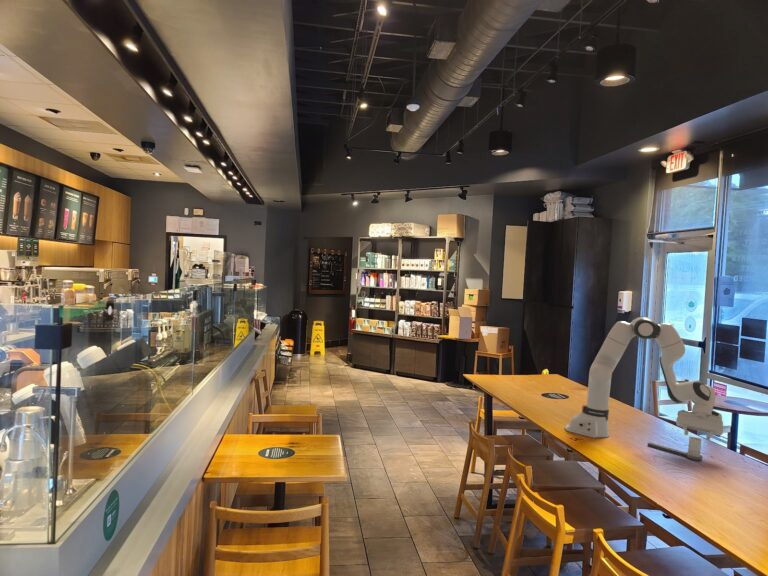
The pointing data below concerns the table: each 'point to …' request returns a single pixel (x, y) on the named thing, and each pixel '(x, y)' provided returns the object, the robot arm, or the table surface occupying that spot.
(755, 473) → the table surface
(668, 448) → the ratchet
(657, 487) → the table surface
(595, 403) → the robot arm
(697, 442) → the tan wooden block
